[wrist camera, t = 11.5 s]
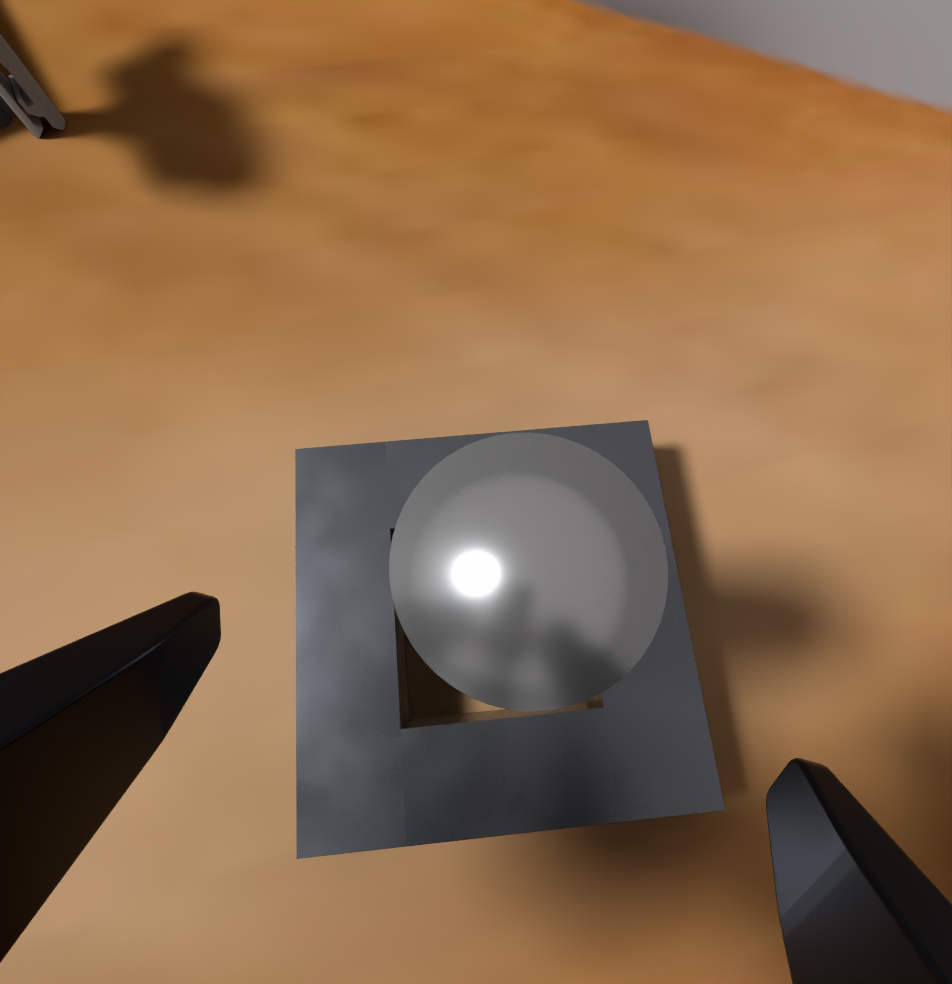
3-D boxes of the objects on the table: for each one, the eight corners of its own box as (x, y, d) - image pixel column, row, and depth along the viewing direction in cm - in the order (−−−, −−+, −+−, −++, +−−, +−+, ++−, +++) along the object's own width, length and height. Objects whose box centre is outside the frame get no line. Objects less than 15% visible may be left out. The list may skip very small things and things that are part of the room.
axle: (544, 668, 19) (694, 695, 6) (442, 678, 19) (397, 726, 6) (532, 567, 20) (641, 421, 7) (435, 576, 20) (381, 443, 7)
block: (690, 789, 18) (725, 810, 16) (320, 830, 17) (296, 858, 15) (627, 446, 21) (647, 420, 19) (315, 472, 21) (295, 448, 18)
